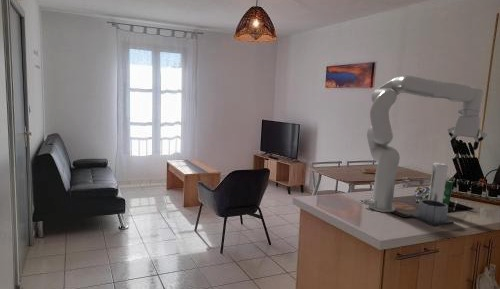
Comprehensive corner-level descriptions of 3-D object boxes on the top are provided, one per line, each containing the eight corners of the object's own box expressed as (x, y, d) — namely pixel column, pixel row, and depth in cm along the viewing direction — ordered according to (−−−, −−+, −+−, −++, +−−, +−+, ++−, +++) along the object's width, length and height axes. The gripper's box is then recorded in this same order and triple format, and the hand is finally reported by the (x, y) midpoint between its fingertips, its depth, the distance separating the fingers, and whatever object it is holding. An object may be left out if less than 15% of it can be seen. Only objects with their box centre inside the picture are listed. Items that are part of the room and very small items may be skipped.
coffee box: (449, 204, 198) (453, 181, 196) (449, 205, 195) (453, 181, 193) (433, 201, 202) (436, 178, 200) (433, 202, 199) (436, 179, 198)
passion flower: (416, 211, 198) (408, 191, 204) (434, 208, 199) (426, 188, 204) (425, 205, 188) (416, 184, 194) (444, 202, 189) (436, 181, 194)
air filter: (442, 215, 177) (449, 165, 174) (428, 213, 178) (435, 164, 175) (438, 211, 184) (445, 163, 180) (425, 209, 185) (431, 161, 181)
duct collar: (433, 226, 160) (435, 208, 159) (410, 216, 172) (412, 200, 171) (453, 223, 165) (456, 206, 164) (429, 214, 177) (431, 198, 176)
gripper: (448, 111, 180) (442, 145, 182) (488, 115, 167) (481, 151, 169) (453, 112, 185) (448, 145, 187) (492, 115, 172) (486, 151, 174)
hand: (463, 148), depth 178 cm, fingers open, 9 cm apart
